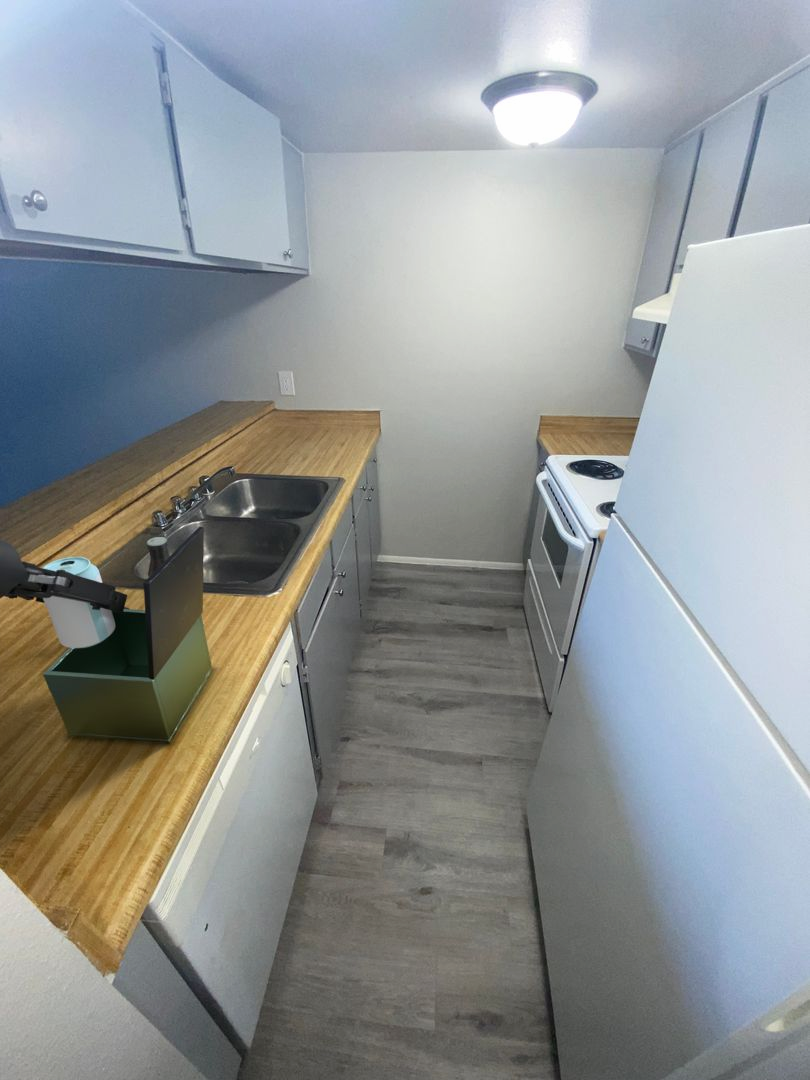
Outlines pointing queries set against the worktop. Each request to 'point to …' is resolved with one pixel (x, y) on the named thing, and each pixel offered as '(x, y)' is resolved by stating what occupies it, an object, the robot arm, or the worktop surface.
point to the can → (78, 609)
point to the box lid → (173, 600)
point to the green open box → (128, 684)
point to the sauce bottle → (157, 553)
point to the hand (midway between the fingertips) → (97, 601)
